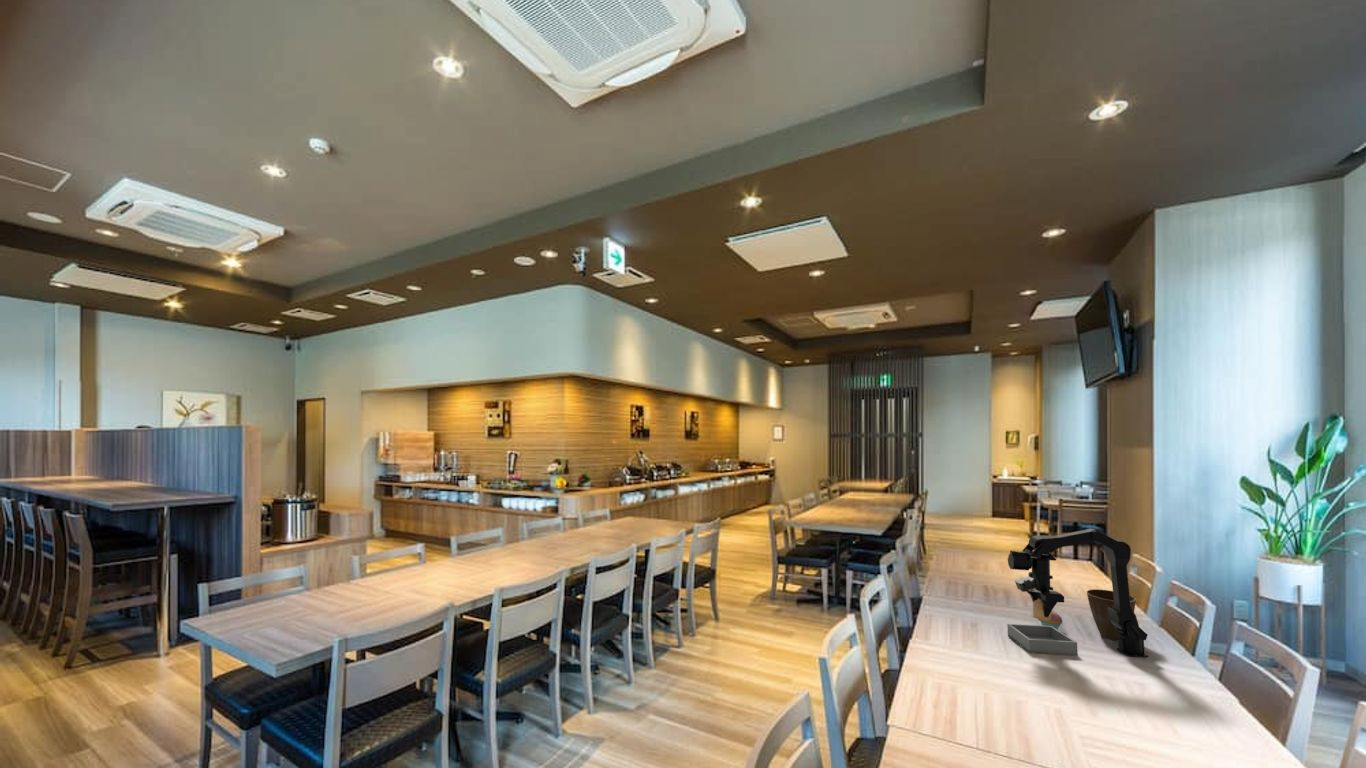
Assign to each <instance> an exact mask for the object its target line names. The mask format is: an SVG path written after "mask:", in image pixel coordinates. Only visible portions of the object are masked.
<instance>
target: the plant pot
mask: <svg viewBox="0 0 1366 768" xmlns="http://www.w3.org/2000/svg"><path fill="white" fill-rule="evenodd" d="M1086 595H1087V599H1088V600H1087V601H1088V605H1089V608H1090V612H1091V614H1092V618H1093V621H1094V624H1095V625H1096V628H1097V630H1098V631H1099V632H1098V633H1099V634H1100V636H1101V637H1103V638H1104V639H1107V640H1111V641H1115V642H1118V638H1119V633H1121V632H1119V631H1117V629H1116V627H1115V626H1114V625H1113V624H1112V623H1111V621H1110V619H1109V618H1108V616H1109V613H1108V607H1109V608H1112V607H1113V605H1114V597H1113V590H1109V589H1098V588H1097V589H1095V588H1094V589H1089V590H1087V591H1086ZM1136 599H1137V598H1135V597H1134V596H1132V595H1130V603H1131V608H1132V610H1133V611H1134V612H1135V609H1136V602H1137V601H1136Z"/></svg>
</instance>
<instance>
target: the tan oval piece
mask: <svg viewBox="0 0 1366 768" xmlns="http://www.w3.org/2000/svg"><path fill="white" fill-rule="evenodd" d="M1032 615H1033V616H1032V617H1033V618H1035V619H1037V620H1038V619H1040V620H1051V613H1050V615H1049V616H1048V617H1045V616H1044V612H1043V605H1042V602H1041V601H1040V600H1039V599H1037V600H1035V601H1034V603H1033V602H1032Z"/></svg>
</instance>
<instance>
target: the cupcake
mask: <svg viewBox="0 0 1366 768" xmlns="http://www.w3.org/2000/svg"><path fill="white" fill-rule="evenodd" d="M1037 620H1038V621H1039V622H1040V623H1041V624H1040V625H1041V626H1052V627H1054V628H1055V629H1057V630H1059V628H1060V626H1061V625H1062V624H1063V618H1062V616H1061V615H1059V614H1058V613H1057V612H1053V610H1052V611H1051V620H1040V619H1037Z"/></svg>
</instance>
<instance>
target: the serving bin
mask: <svg viewBox="0 0 1366 768" xmlns="http://www.w3.org/2000/svg"><path fill="white" fill-rule="evenodd" d="M1006 627H1007V637H1008V638H1010V639H1011V638H1012V639H1011V640H1012V641H1013V642H1015V643H1016V642H1017V644H1018V646H1020V645H1021V646H1022V648H1023V649H1024V650H1025V649H1026V650H1025V651H1027V652H1028V653H1029V654H1043V655H1044V654H1045V655H1057V656H1058V655H1060V656H1061V655H1062V656H1078V655H1079V654H1078V642H1077V641H1076V640H1074V639H1072V638H1071V637H1069V636H1068V635H1067V634H1065V633H1063V632H1062V631H1060V630H1059V629H1058V630H1057V629H1055V628H1054V627H1052V626H1042V624H1040V625H1039V624H1037V625H1036V624H1021V623H1019V624H1017V623H1007V626H1006ZM1021 646H1020V647H1021Z"/></svg>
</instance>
